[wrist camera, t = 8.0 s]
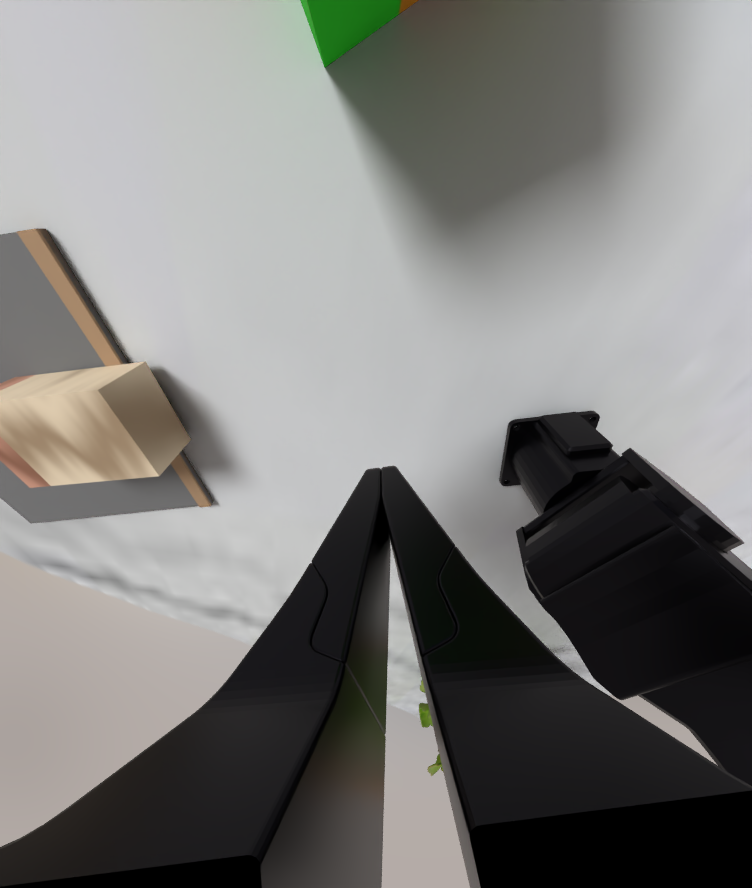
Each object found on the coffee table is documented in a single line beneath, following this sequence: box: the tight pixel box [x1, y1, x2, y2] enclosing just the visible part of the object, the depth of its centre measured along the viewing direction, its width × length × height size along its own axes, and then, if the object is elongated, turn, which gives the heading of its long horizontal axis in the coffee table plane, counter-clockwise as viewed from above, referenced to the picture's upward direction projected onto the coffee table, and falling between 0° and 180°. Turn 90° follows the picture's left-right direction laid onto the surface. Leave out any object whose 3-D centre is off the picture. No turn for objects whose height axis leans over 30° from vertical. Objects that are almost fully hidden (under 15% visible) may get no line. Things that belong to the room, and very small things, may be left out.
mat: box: [0, 229, 213, 523], centre depth 21 cm, size 20×17×1 cm
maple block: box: [0, 362, 191, 488], centre depth 19 cm, size 6×4×9 cm
